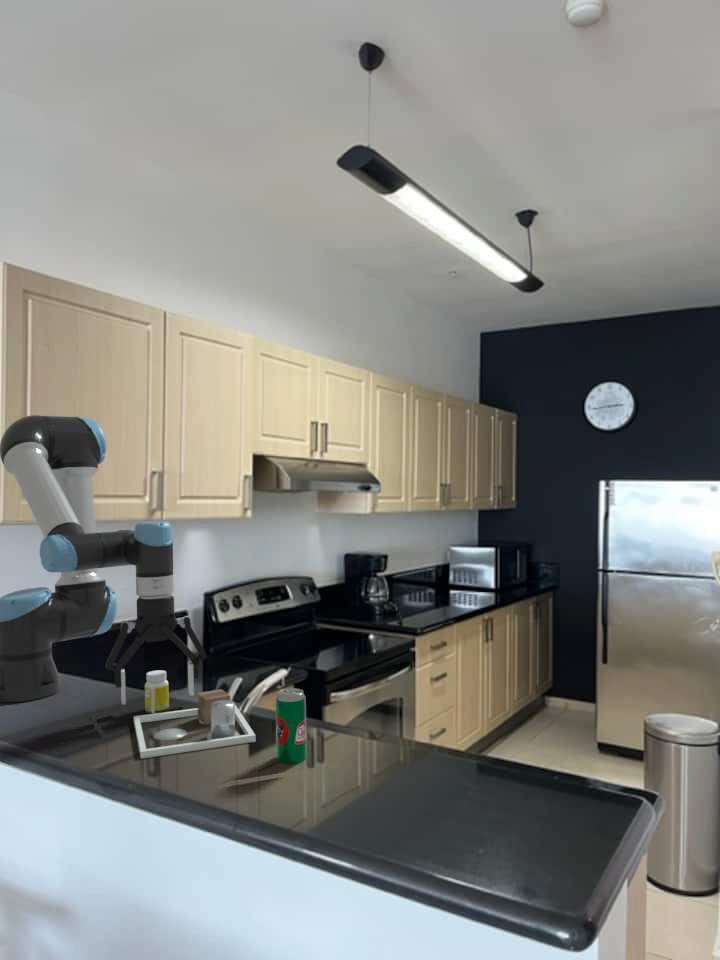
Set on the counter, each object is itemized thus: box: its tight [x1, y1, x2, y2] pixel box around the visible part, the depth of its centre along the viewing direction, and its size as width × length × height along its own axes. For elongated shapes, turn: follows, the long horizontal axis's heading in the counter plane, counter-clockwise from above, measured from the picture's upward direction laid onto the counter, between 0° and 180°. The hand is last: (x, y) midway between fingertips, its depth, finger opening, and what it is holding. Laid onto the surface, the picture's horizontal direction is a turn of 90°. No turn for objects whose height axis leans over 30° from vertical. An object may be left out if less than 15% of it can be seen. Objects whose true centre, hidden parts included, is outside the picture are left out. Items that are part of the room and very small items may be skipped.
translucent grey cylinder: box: [210, 699, 236, 739], centre depth 132 cm, size 4×4×6 cm
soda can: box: [275, 687, 308, 765], centre depth 122 cm, size 5×5×12 cm
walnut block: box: [197, 688, 231, 726], centre depth 142 cm, size 5×5×5 cm
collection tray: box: [133, 704, 257, 760], centre depth 135 cm, size 20×20×2 cm
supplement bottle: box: [144, 669, 170, 714], centre depth 148 cm, size 5×5×8 cm
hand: (157, 698), depth 148 cm, fingers open, 13 cm apart
